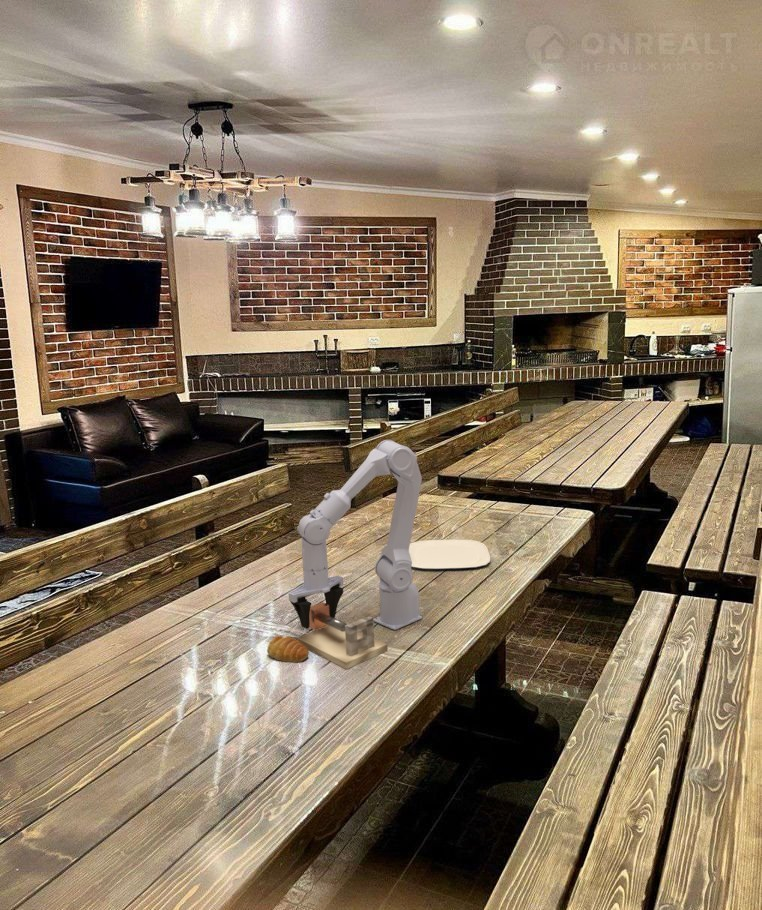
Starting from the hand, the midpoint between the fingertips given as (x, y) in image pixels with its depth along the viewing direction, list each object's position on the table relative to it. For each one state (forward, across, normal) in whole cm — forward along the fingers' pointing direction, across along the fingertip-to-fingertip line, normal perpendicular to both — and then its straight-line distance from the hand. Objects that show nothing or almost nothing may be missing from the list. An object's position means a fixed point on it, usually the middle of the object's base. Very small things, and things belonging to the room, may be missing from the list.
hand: (318, 622), depth 178 cm
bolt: (+1, 0, -4) cm, 4 cm away
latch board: (+4, 0, -8) cm, 9 cm away
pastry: (+4, -10, -2) cm, 11 cm away
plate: (+4, +61, +15) cm, 63 cm away
